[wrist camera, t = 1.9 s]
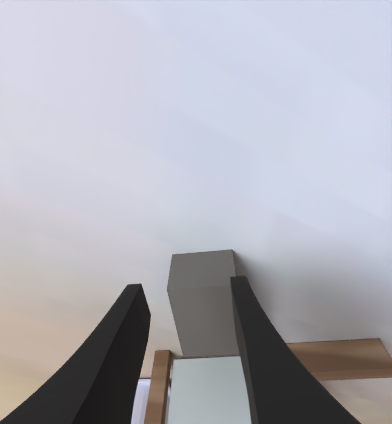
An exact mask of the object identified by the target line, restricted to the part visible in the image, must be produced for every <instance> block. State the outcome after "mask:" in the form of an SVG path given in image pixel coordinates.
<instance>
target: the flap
mask: <svg viewBox="0 0 392 424" xmlns="http://www.w3.org/2000/svg"><path fill="white" fill-rule="evenodd" d="M168 424H251V417H250V409H249V400H248V394H247V388H246V383H245V378H244V373H243V368H242V363H241V358H240V356H235V357H216V358H198V359H179V360H174V362H173V372H172V383H171V393H170V403H169V414H168Z"/></svg>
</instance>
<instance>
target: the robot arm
mask: <svg viewBox="0 0 392 424" xmlns="http://www.w3.org/2000/svg"><path fill="white" fill-rule="evenodd" d="M230 283H231V294H232V306H233V316H234V325H235V334H236V339H237V344H238V348H239V353H240V358H241V363H242V368H243V373H244V378H245V383H246V388H247V394H248V400H249V409H250V417H251V424H361V423H360V422H359V421H358V420H357V419H356V418H354V417H353V416H352V415H351V414H350V413H349V412H348V411H347V410H346V409H345V408H344V407H343V406H342V405H341V404H340V403H339V402H338V401H337V400H336V399H335V398H334V397H333V396H332V395H331V394H330V393H329V392H328V391H327V390H326V389H325V388H324V387H323V386H322V385H321V384H320V383H319V382H318V381H317V379H316V378H315V377H314V376H313V375H312V374H311V373H310V372H309V371H308V370H307V369H306V368H305V366H304V365H303V364H302V363H301V362H300V360H299V359H298V358H297V357H296V356H295V354H294V353H293V352H292V351H291V349H290V348H289V347H288V346H287V344H286V343H285V342H284V340H283V339H282V338H281V336H280V335H279V334H278V332H277V331H276V329H275V328H274V326H273V325H272V323H271V322H270V320H269V319H268V317H267V316H266V314H265V312H264V311H263V309H262V308H261V306H260V304H259V302H258V301H257V299H256V297H255V295H254V293H253V291H252V289H251V287H250V285H249V282H248V279H247V277H245V276H234V277H230ZM150 318H151V314H150V311H149V307H148V304H147V301H146V298H145V294H144V291H143V288H142V284H130V285H127V286H126V288H125V289H124V290H123V292H122V293H121V295H120V296H119V297H118V299H117V300H116V302H115V303H114V304H113V306H112V307H111V308H110V310H109V311H108V313H107V314H106V315H105V317H104V318H103V319H102V320H101V322H100V323H99V324H98V326H97V327H96V328H95V329H94V331H93V332H92V333H91V334H90V336H89V337H88V338H87V339H86V340H85V342H84V343H83V344H82V345H81V346H80V347H79V349H78V350H77V351H76V352H75V353H74V354H73V355H72V356H71V357H70V358H69V360H68V361H67V362H66V363H65V364H64V365H63V366H62V367H61V368H60V369H59V370H58V371H57V372H56V373H55V374H54V375H53V376H52V377H51V378H50V379H49V380H47V381H46V382H45V383H44V384H43V385H42V386H41V387H40V388H39V389H38V390H37V391H36V392H35V393H34V394H32V395H31V396H30V397H29V398H28V399H27V400H25V401H24V402H23V403H22V404H21V405H20V406H18V407H17V408H16V409H15V410H14V411H12V412H11V413H10V414H9V415H8V416H6V417H5V418H4V419H3V420H1V421H0V424H144V419H145V412H146V406H147V400H148V394H149V388H150V381H151V379H139V377H140V373H141V368H142V364H143V360H144V355H145V351H146V346H147V342H148V336H149V328H150ZM170 393H171V388H170V385H169V387H168V397H167V406H166V416H165V424H168V414H169V403H170Z"/></svg>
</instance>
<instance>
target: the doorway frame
mask: <svg viewBox="0 0 392 424" xmlns="http://www.w3.org/2000/svg"><path fill="white" fill-rule="evenodd" d="M287 346H288V347H289V348H290V349H291V351H292V352H293V353H294V354H295V356H296V357H297V358H298V359H299V360H300V362H301V363H302V364H303V365H304V366H305V368H306V369H307V370H308V371H309V372H310V373H311V374H312V375H313V376H314V377H315V378H316V379H317V381H323V380H345V379H367V378H390V377H392V358H391V357H390V355H389V353H388V352H387V350H386V349H385V347H384V345H383V344H382V342H381V340H380V339H362V340H344V341H326V342H309V343H291V344H287ZM170 368H171V355H170V352H169V350H165V351H155V356H154V363H153V369H152V375H151V381H150V388H149V394H148V400H147V406H146V412H145V419H144V424H165V416H166V406H167V397H168V387H169V377H170Z"/></svg>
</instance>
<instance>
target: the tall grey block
mask: <svg viewBox="0 0 392 424" xmlns="http://www.w3.org/2000/svg"><path fill="white" fill-rule="evenodd" d="M234 276H236V271H235V265H234V258H233V251H232V250H221V251H209V252H197V253H186V254H174V255H172V260H171V267H170V273H169V280H168V286H167V292H168V296H169V300H170V304H171V308H172V312H173V317H174V321H175V325H176V329H177V333H178V337H179V341H180V345H181V349H182V354H183V357H197V356H216V355H234V354H240V353H239V348H238V344H237V339H236V334H235V325H234V316H233V306H232V294H231V283H230V277H234Z"/></svg>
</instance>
